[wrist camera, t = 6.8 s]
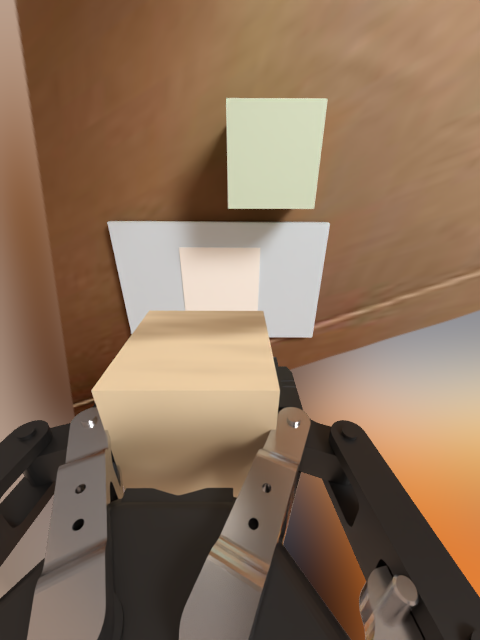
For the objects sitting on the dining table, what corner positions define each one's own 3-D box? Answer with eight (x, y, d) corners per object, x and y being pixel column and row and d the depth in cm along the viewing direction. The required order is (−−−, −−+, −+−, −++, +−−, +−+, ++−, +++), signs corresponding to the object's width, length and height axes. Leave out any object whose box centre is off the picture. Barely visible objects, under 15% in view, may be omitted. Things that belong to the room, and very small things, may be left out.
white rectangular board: (111, 220, 24) (106, 222, 23) (327, 222, 24) (330, 223, 23) (134, 333, 29) (131, 337, 28) (310, 333, 29) (312, 337, 29)
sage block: (229, 121, 20) (226, 98, 15) (304, 121, 20) (327, 98, 15) (230, 203, 23) (228, 208, 18) (296, 204, 23) (314, 208, 18)
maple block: (149, 310, 13) (91, 390, 8) (263, 310, 14) (280, 390, 8) (163, 396, 16) (127, 498, 11) (258, 396, 16) (268, 497, 11)
